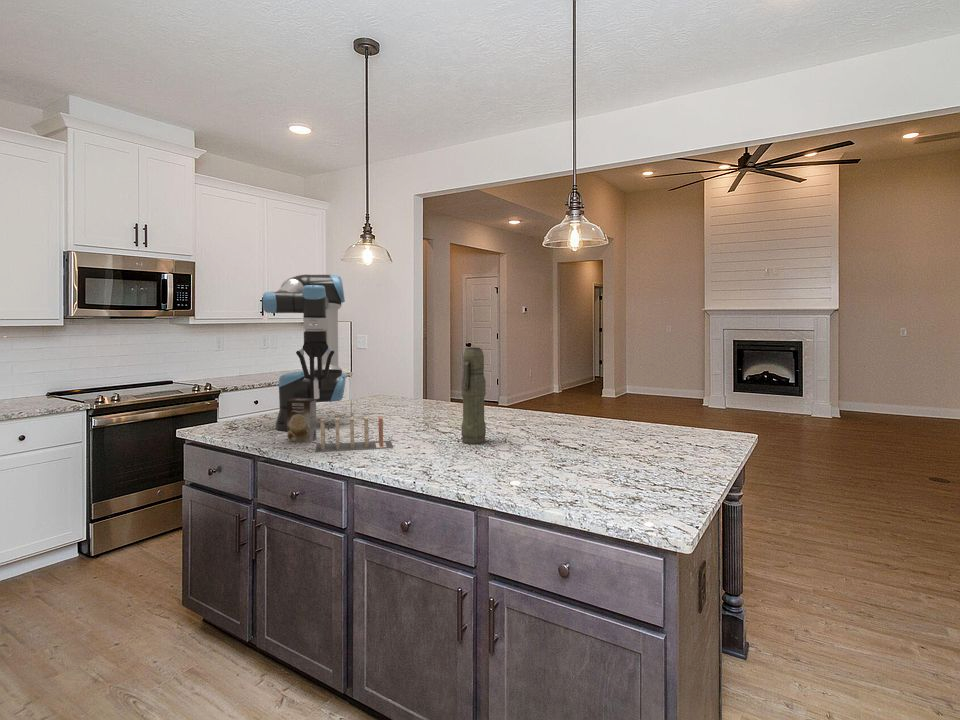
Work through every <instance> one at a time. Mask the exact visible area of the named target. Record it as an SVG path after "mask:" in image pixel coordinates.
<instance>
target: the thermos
mask: <svg viewBox="0 0 960 720" xmlns="http://www.w3.org/2000/svg"><path fill="white" fill-rule="evenodd" d="M462 359H463V360H462V367H463V368H462V369H463V373H462V374H463V376H462V379H461V396H462V422H461V436H462V439H461V442H462V443H463V444H465V445H482V444H485V443H486V436H487V435H486V428H487V427H486V426H487V425H486V421H485V396H486V393H487V391H486V390H487V389H486V385H487V383H486V378H485V372H484V371H485V355H484V351H483V349H482V348H480V347H475V346H474V347H467V348H465V349H464V353H463V356H462Z"/></svg>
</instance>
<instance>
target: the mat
mask: <svg viewBox="0 0 960 720" xmlns="http://www.w3.org/2000/svg"><path fill="white" fill-rule="evenodd" d="M385 449H394V446H393V443H392V441H391V440H383V447H380V446H379V440H377V441H373V440H372V441H369V447H367V448H365V441H358V442H355V441H354V448H351V442H340V449H336V442H335V443H325V450H321V443H320V444H319V443H318V444H316V446H315V451H314V453H328V452H329V453H330V452H331V453H332V452H348V451H370V450H385Z"/></svg>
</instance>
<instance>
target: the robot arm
mask: <svg viewBox="0 0 960 720" xmlns="http://www.w3.org/2000/svg"><path fill="white" fill-rule="evenodd" d="M344 293H345V291H344V286H343V280H342V277H341V276H340V275H338V274H337V275H335V274H299V275H295V276H293V277H290V278H287V279H286V280H284V281H283V282H282V283H281V285H280V287H279V289H278V290H276V291H265V292H264V293H263V294H262V309H263V311H264V312H265V313H266V314H303V322H302V323H303V330H305V331H304V332H303V345H302V348H300V349H299V350H296V352H295V353H296V355H297V357H298V358H299V362H300V365H301V368H302V371H301V370H298V371H294V372H288V373H285V374H284V373H283V374H281V375H280V376H279V378H278V386H277V387H278V394H279V395H278V397H279V403H278V405H279V411H278V414H277V418H276V420H275V430H277V431H283V432H284V431H286V432H287V400H289V399H292V398H313V399H316V403H332V402H333V403H334V402H340V401H342V400H343V398H344V394H345V387H346V377H347V376H346V374H345V373H343V369H342V368H341V367H340V366H339V320H338V319H339V317H338V316H339V309H341V307H342V304H343V303H345V294H344ZM305 354H306V355H307V356H308V357H309V370H308V367H307V366H308V365H307V363H306V359H305V356H304V355H305ZM315 358H316V360H317V362H316V364H317V366H316V367H315Z"/></svg>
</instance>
